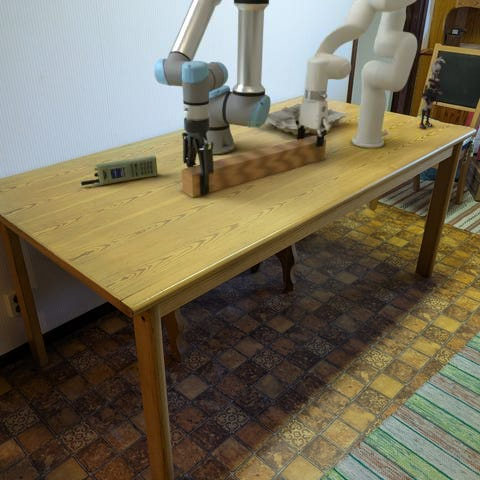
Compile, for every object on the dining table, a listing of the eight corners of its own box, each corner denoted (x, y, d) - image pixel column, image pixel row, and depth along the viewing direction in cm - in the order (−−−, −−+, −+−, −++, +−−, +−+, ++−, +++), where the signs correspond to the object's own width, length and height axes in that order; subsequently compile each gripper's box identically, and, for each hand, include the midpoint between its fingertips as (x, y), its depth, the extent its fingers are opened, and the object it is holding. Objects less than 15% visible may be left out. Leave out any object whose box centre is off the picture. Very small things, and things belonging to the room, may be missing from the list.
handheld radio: (158, 176, 170) (83, 189, 160) (155, 173, 172) (80, 186, 162) (156, 157, 167) (79, 169, 157) (153, 154, 169) (77, 166, 159)
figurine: (421, 131, 217) (435, 58, 202) (409, 128, 221) (422, 56, 206) (438, 124, 226) (453, 54, 211) (426, 121, 230) (440, 52, 215)
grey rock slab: (245, 130, 217) (303, 143, 199) (245, 116, 214) (304, 128, 197) (296, 115, 242) (351, 125, 225) (297, 102, 239) (353, 111, 222)
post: (312, 154, 191) (314, 135, 187) (324, 158, 187) (326, 139, 183) (182, 191, 160) (181, 169, 156) (192, 197, 156) (191, 175, 152)
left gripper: (168, 112, 153) (173, 182, 164) (204, 127, 140) (205, 203, 151) (189, 108, 157) (192, 177, 168) (226, 122, 144) (226, 196, 155)
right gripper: (341, 98, 171) (334, 147, 179) (305, 89, 183) (300, 135, 191) (325, 101, 167) (319, 151, 175) (290, 91, 179) (286, 138, 187)
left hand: (198, 189), depth 160 cm, fingers closed on post, 6 cm apart
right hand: (309, 143), depth 183 cm, fingers open, 9 cm apart
